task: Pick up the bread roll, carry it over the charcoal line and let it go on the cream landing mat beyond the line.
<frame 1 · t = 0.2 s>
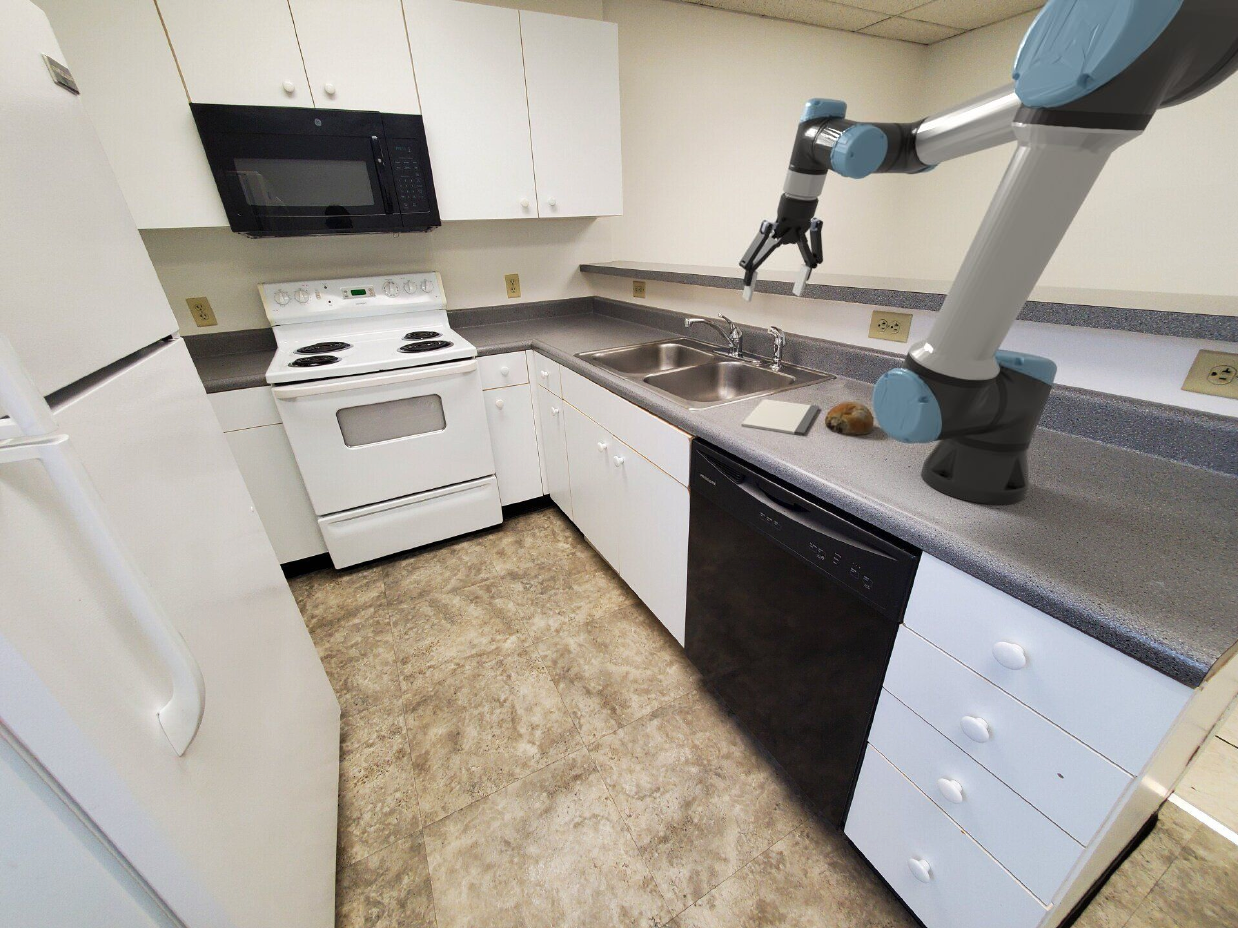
hand: (772, 296, 111), 27 cm above the worktop, tool tilted 20°, fingers open, 13 cm apart
landing mat: (781, 416, 116), on the worktop
bread roll: (847, 429, 109), on the worktop
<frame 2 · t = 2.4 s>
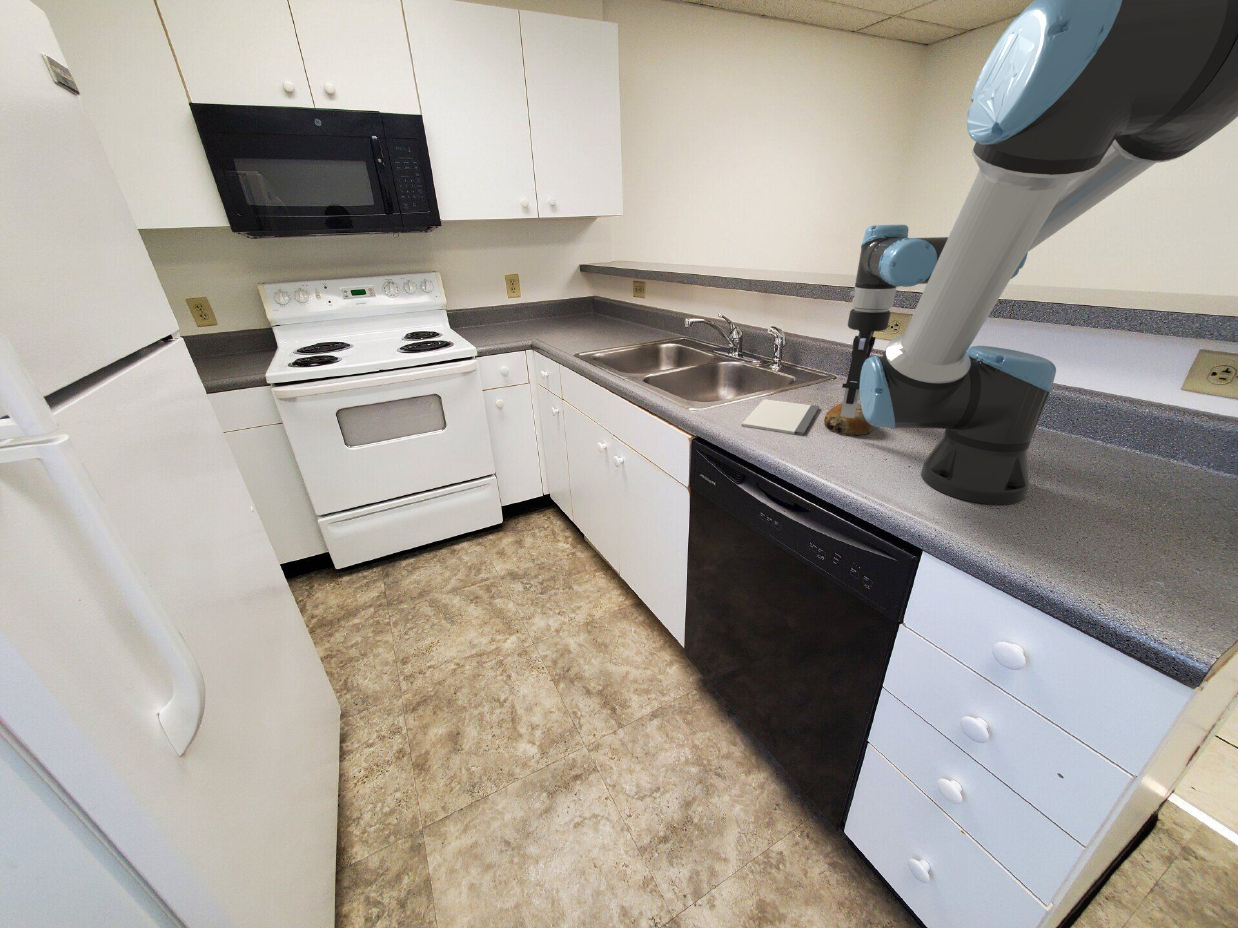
hand: (851, 407, 107), 5 cm above the worktop, tool pointing down, fingers open, 13 cm apart
nothing on the worktop moved.
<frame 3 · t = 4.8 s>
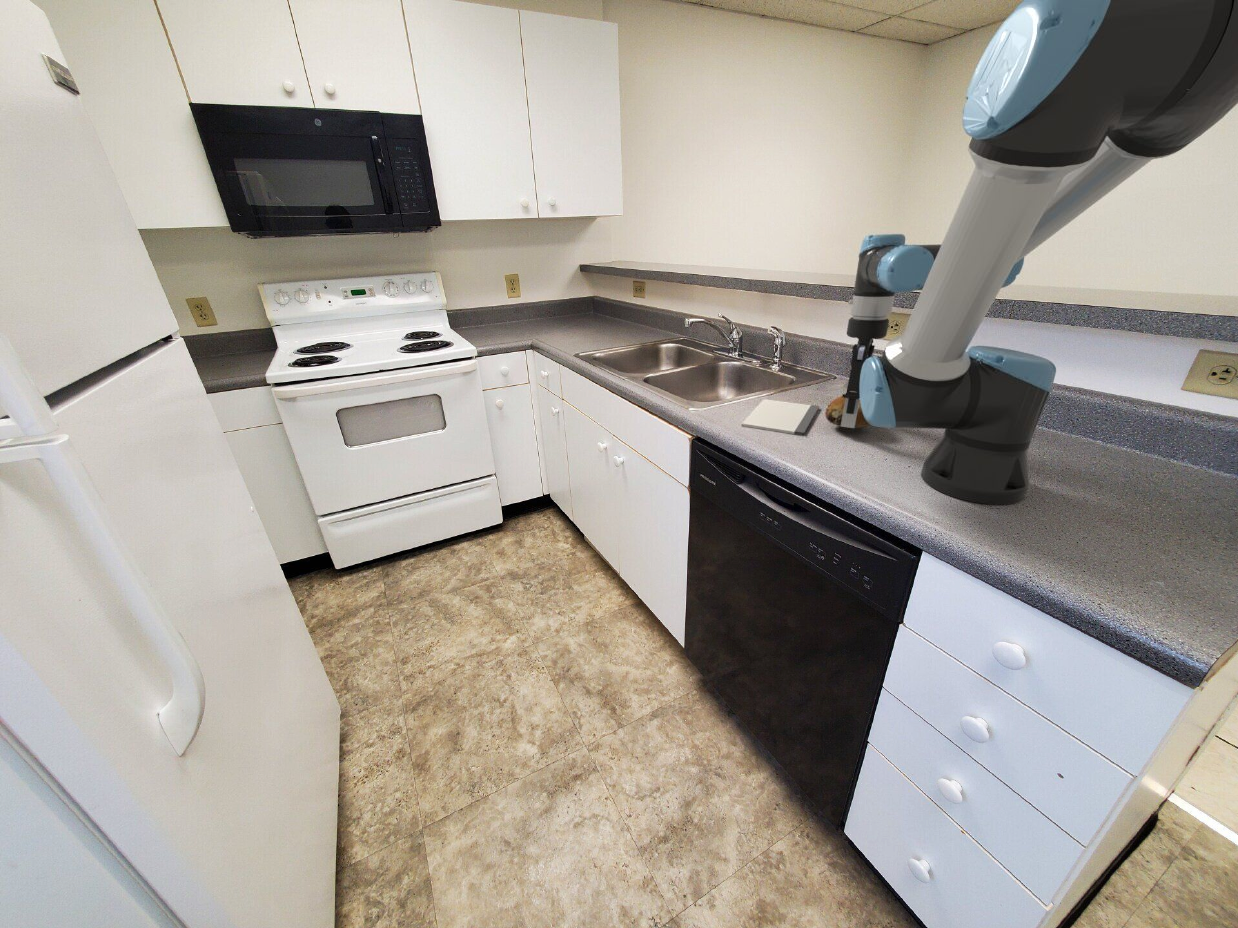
hand: (850, 419, 107), 2 cm above the worktop, tool pointing down, fingers closed on bread roll, 10 cm apart
bread roll: (848, 422, 107), point 2 cm above the worktop, touching gripper
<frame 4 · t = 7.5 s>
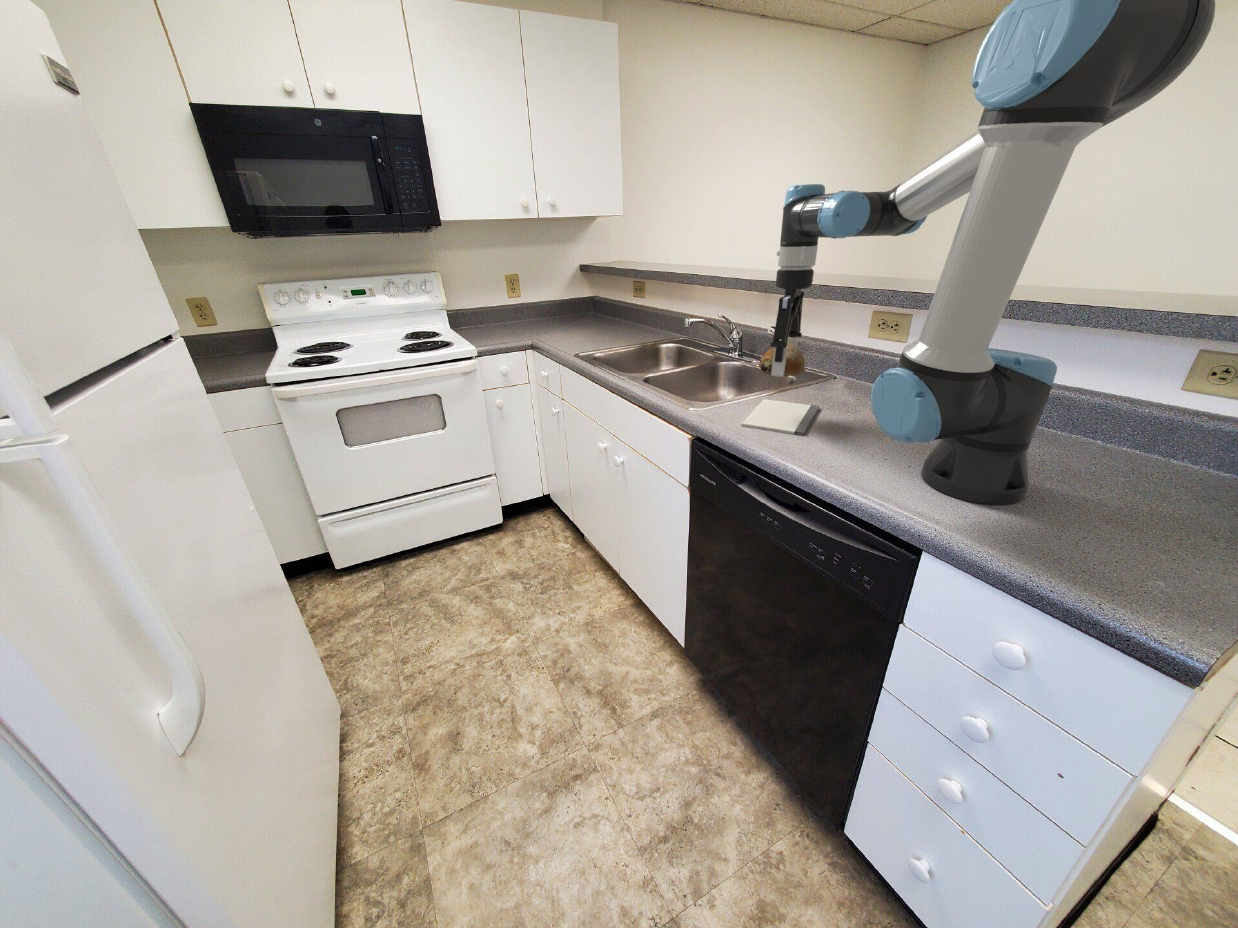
hand: (782, 370, 112), 12 cm above the worktop, tool pointing down, fingers closed on bread roll, 10 cm apart
bread roll: (781, 372, 112), point 11 cm above the worktop, touching gripper
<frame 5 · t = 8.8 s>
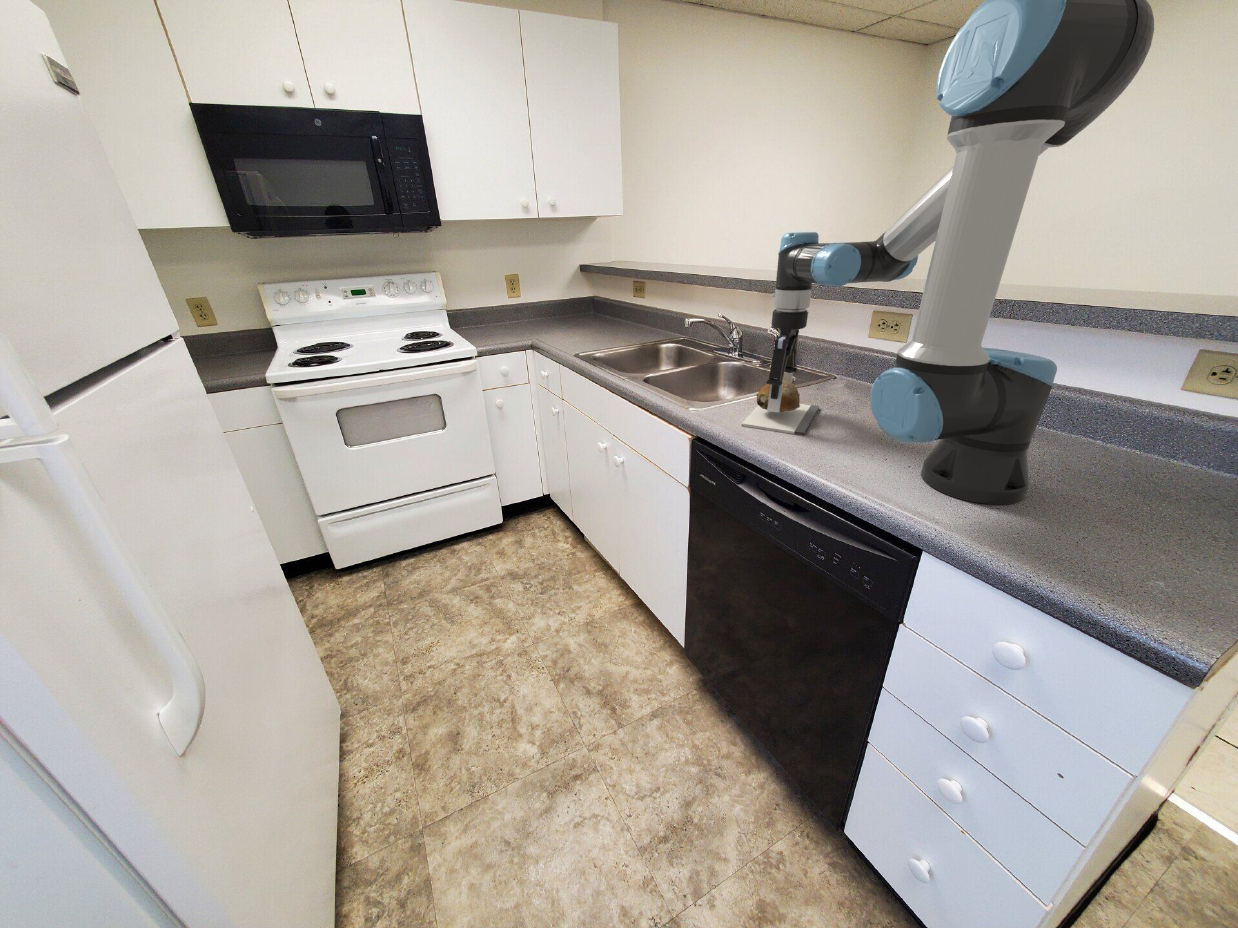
hand: (778, 404, 115), 3 cm above the worktop, tool pointing down, fingers closed on bread roll, 10 cm apart
bread roll: (776, 406, 116), point 2 cm above the worktop, touching gripper
when the fingers open (2 cm above the worktop, at t = 10.0 s): bread roll drops 1 cm, resting on landing mat.
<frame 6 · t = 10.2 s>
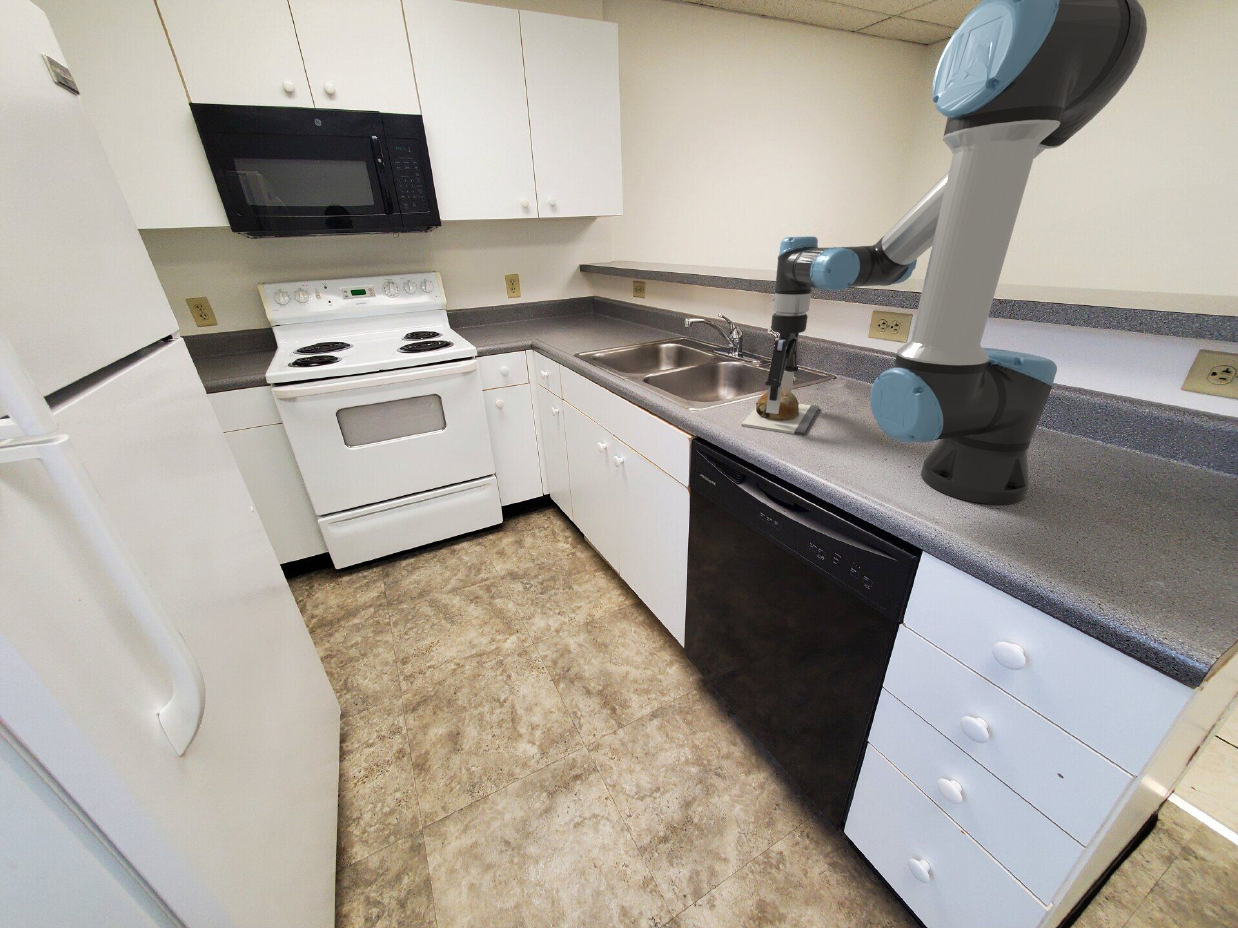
hand: (778, 404, 115), 3 cm above the worktop, tool pointing down, fingers open, 12 cm apart
bread roll: (776, 415, 116), resting on landing mat
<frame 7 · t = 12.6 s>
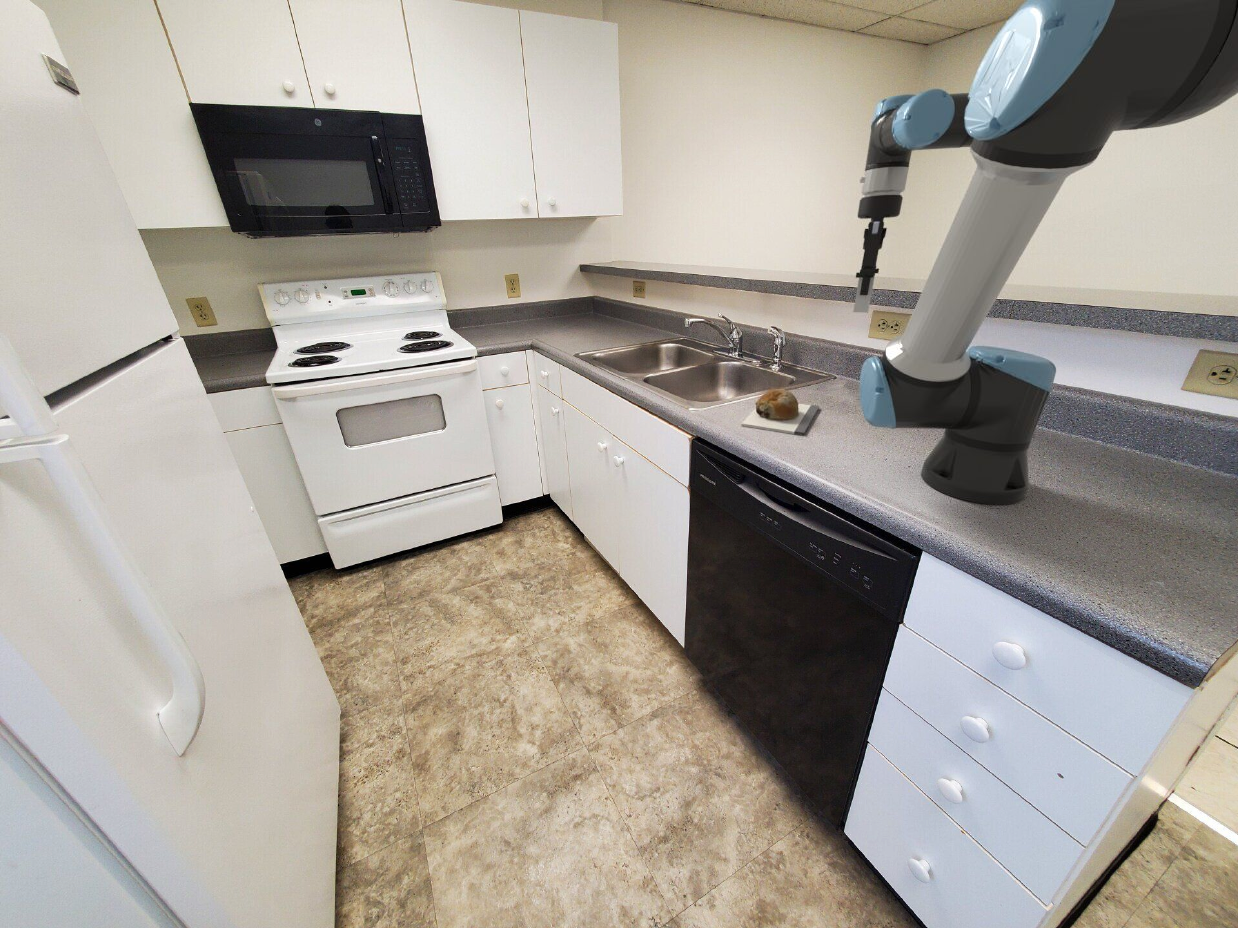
hand: (861, 308, 102), 26 cm above the worktop, tool pointing down, fingers open, 13 cm apart
nothing on the worktop moved.
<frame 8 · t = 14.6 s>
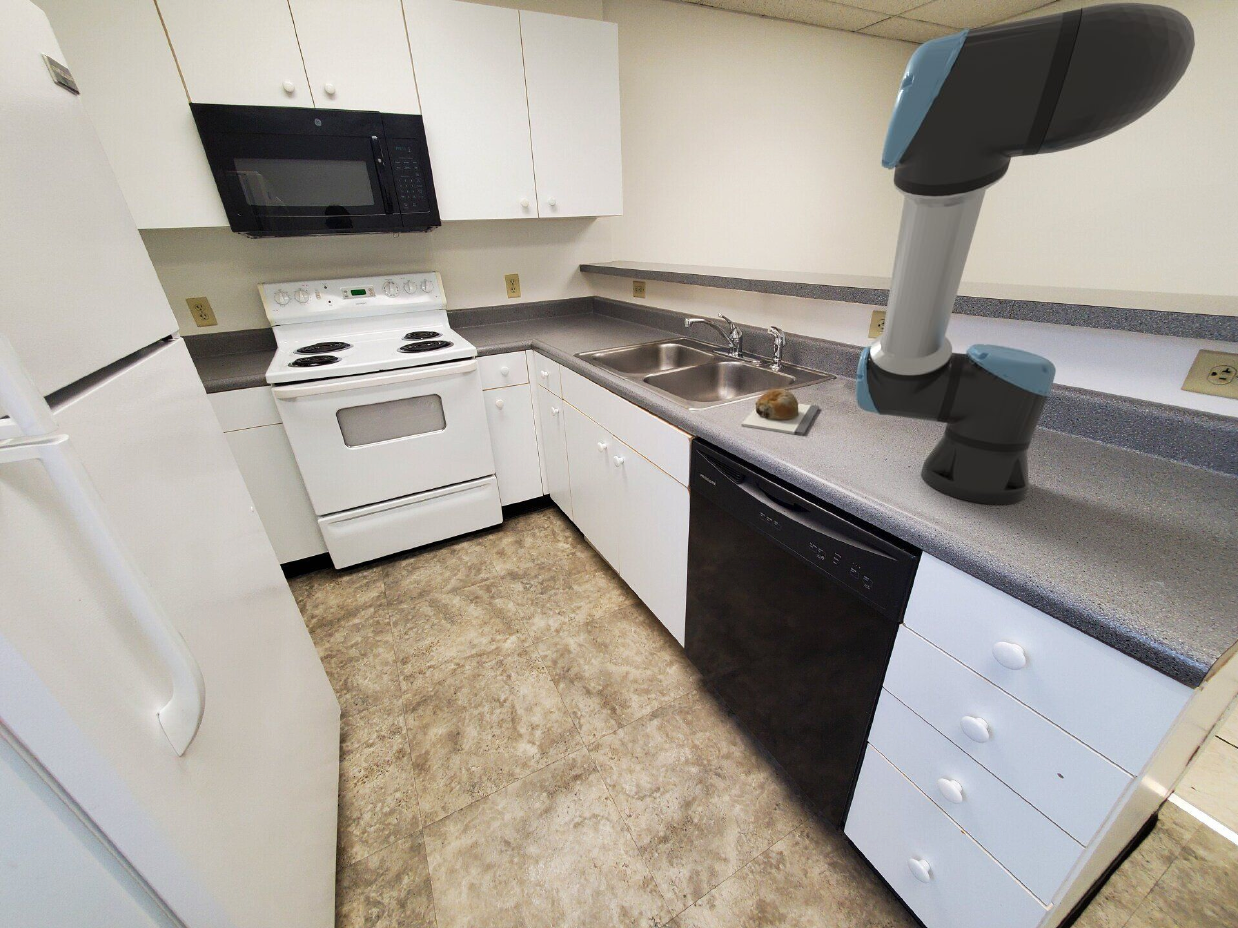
hand: (934, 276, 97), 32 cm above the worktop, tool pointing down, fingers open, 13 cm apart
nothing on the worktop moved.
at the end: bread roll inside the target area (1.3 cm from its centre), resting on landing mat; the gripper is holding nothing; bread roll moved 16.4 cm from its start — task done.
